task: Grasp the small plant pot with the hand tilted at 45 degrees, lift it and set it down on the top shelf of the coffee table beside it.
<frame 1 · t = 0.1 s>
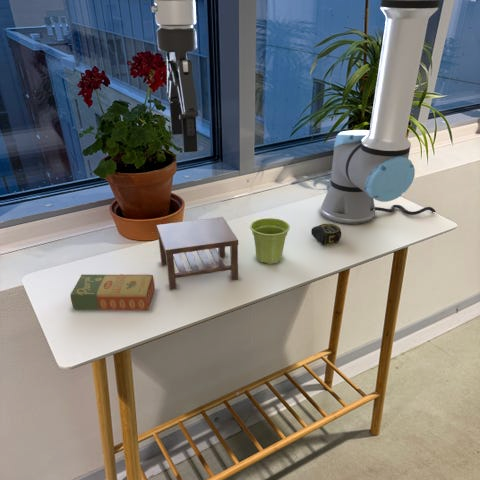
hand: (184, 142, 104), 28 cm above the table, tool pointing down, fingers open, 13 cm apart
tape measure: (324, 242, 127), on the table
plant pot: (268, 259, 120), on the table
carton: (115, 300, 105), on the table
coffee table: (198, 270, 115), on the table
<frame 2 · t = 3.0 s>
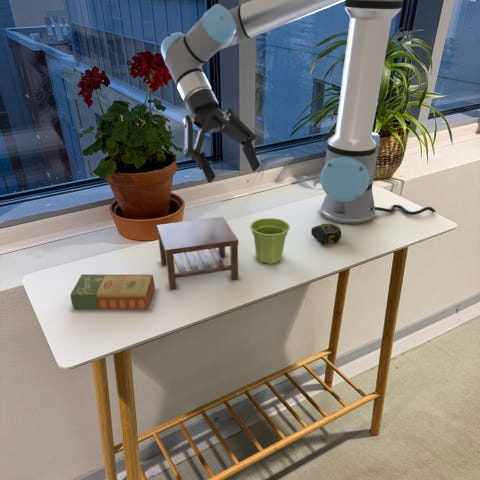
hand: (235, 174, 119), 17 cm above the table, tool tilted 45°, fingers open, 13 cm apart
nothing on the table moved.
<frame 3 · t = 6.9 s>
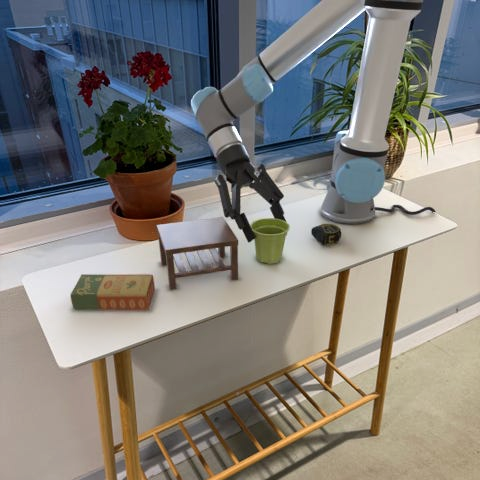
hand: (268, 234, 116), 6 cm above the table, tool tilted 45°, fingers closed on plant pot, 9 cm apart
plant pot: (268, 259, 120), on the table, touching gripper
everything else where it was.
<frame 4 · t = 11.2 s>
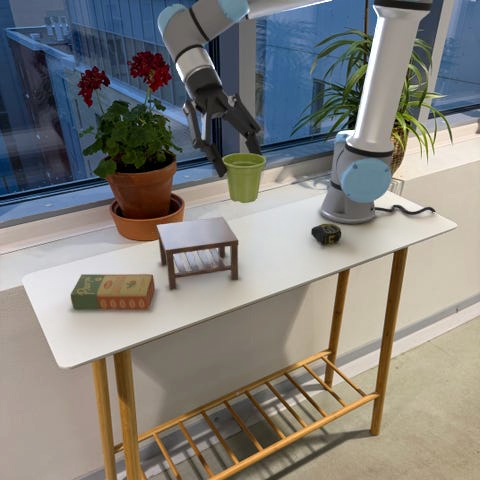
hand: (242, 169, 104), 23 cm above the table, tool tilted 45°, fingers closed on plant pot, 9 cm apart
plant pot: (243, 199, 108), point 16 cm above the table, touching gripper
everything else where it was.
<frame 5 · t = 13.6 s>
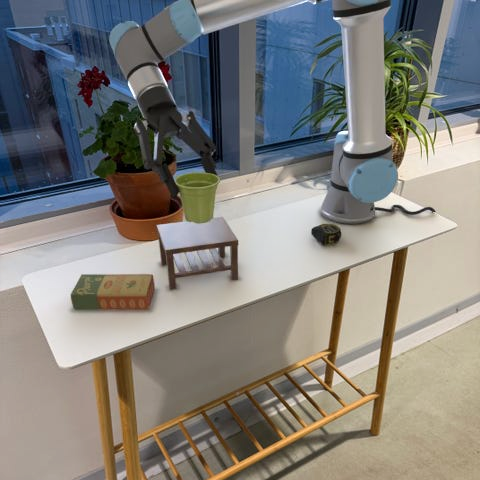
hand: (196, 189, 102), 20 cm above the table, tool tilted 45°, fingers closed on plant pot, 9 cm apart
plant pot: (199, 219, 106), point 14 cm above the table, touching gripper
everything else where it was.
when the fingers open (16 cm above the table, at t = 15.3 s): plant pot stays where it is, resting on coffee table.
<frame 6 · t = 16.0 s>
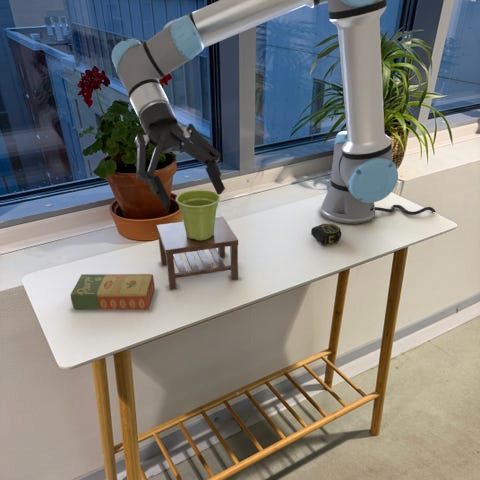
hand: (195, 199, 104), 18 cm above the table, tool tilted 45°, fingers open, 13 cm apart
plant pot: (200, 235, 108), point 10 cm above the table, touching coffee table
everything else where it was.
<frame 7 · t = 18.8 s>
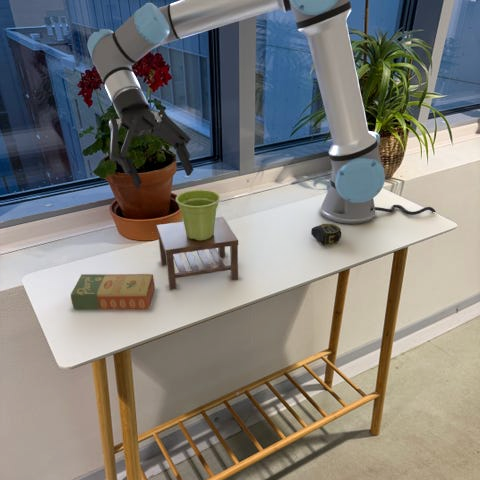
hand: (165, 179, 112), 19 cm above the table, tool tilted 45°, fingers open, 13 cm apart
nothing on the table moved.
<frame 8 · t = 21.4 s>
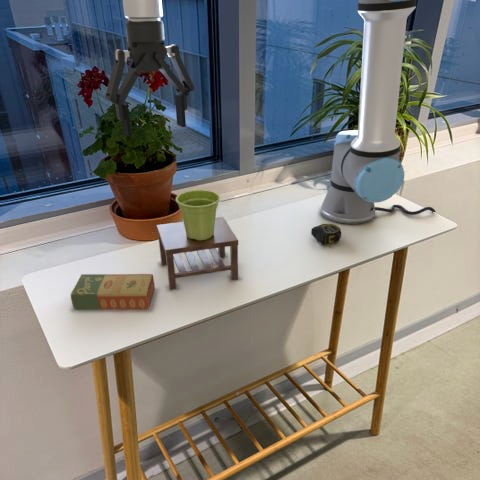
hand: (155, 130, 109), 29 cm above the table, tool pointing down, fingers open, 13 cm apart
nothing on the table moved.
at the end: plant pot inside the target area on the coffee table (1.6 cm from its centre), point 9.8 cm above the coffee table's base; plant pot tilted 0°; the gripper is holding nothing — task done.
